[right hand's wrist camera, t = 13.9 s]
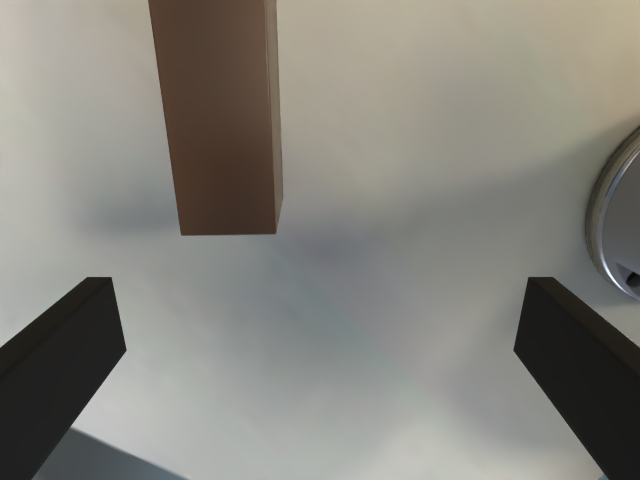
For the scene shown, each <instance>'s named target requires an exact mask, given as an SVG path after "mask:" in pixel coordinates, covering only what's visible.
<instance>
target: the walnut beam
mask: <svg viewBox="0 0 640 480" xmlns="http://www.w3.org/2000/svg"><path fill="white" fill-rule="evenodd" d="M148 2H149V9H150V16H151V23H152V30H153V37H154V45H155V52H156V59H157V66H158V73H159V80H160V88H161V95H162V102H163V109H164V116H165V123H166V131H167V138H168V145H169V152H170V159H171V166H172V173H173V181H174V188H175V195H176V202H177V209H178V216H179V224H180V231H181V235H182V236H199V235H275V234H276V232H277V227H278V222H279V217H280V211H281V206H282V201H283V180H282V152H281V124H280V96H279V68H278V40H277V12H276V0H148Z"/></svg>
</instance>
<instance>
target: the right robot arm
mask: <svg viewBox="0 0 640 480" xmlns="http://www.w3.org/2000/svg"><path fill="white" fill-rule="evenodd" d="M586 242H587V246H588V251H589V253H590V256H591V259H592V261H593V263H594V265H595V266H596V268H597V269H598V271H599V272H600V273H601V274H602V275H603V276H604V277H605V278H606V279H607V280H608V281H609V282H610V283H612V284H613V285H615V286H616V287H618V288H619V289H621V290H622V291H624V292H625V293H627V294H628V295H630V296H631V297H633V298H635V299H637V300H639V301H640V128H639V129H638V130H637V131H636V132H635V133H633V134H632V135H631V136H630V137H629V138H628V139H627V140H626V141H625V142H624V143H623V145H622V146H621V147H620V148H619V149H618V150H617V152H616V153H615V154H614V156H613V157H612V158H611V160H610V161H609V162H608V164H607V165H606V167H605V169H604V170H603V172H602V174H601V176H600V178H599V179H598V181H597V183H596V186H595V188H594V191H593V193H592V196H591V199H590V202H589V206H588V211H587V216H586ZM126 351H127V350H126V345H125V340H124V335H123V331H122V326H121V321H120V316H119V311H118V306H117V301H116V297H115V292H114V287H113V282H112V277H87V278H86V279H84V280H83V281H82V282H81V283H79V284H78V285H77V286H76V287H74V288H73V289H72V290H71V291H70V292H68V293H67V294H66V295H65V296H63V297H62V298H61V299H60V300H58V301H57V302H56V303H55V304H54V305H52V306H51V307H50V308H49V309H47V310H46V311H45V312H44V313H42V314H41V315H40V316H39V317H38V318H36V319H35V320H34V321H33V322H31V323H30V324H29V325H28V326H26V327H25V328H24V329H23V330H22V331H20V332H19V333H18V334H17V335H15V336H14V337H13V338H12V339H10V340H9V341H8V342H7V343H6V344H4V345H3V346H2V347H1V348H0V480H31V479H32V478H33V477H34V475H35V474H36V473H37V471H38V470H39V469H40V467H41V466H42V465H43V463H44V462H45V460H46V459H47V458H48V456H49V455H50V454H51V452H52V451H53V450H54V448H55V447H56V445H57V444H58V443H59V441H60V440H61V439H62V437H63V436H64V435H65V433H66V432H67V431H68V429H69V428H70V427H71V425H72V424H73V422H74V421H75V420H76V418H77V417H78V416H79V414H80V413H81V412H82V410H83V409H84V408H85V406H86V405H87V403H88V402H89V401H90V399H91V398H92V397H93V395H94V394H95V393H96V391H97V390H98V389H99V387H100V386H101V384H102V383H103V382H104V380H105V379H106V378H107V376H108V375H109V374H110V372H111V371H112V370H113V368H114V367H115V365H116V364H117V363H118V361H119V360H120V359H121V357H122V356H123V355H124V353H125V352H126ZM513 351H514V352H515V353H516V355H517V356H518V357H519V359H520V360H521V361H522V363H523V364H524V365H525V367H526V368H527V370H528V371H529V372H530V374H531V375H532V376H533V378H534V379H535V380H536V382H537V383H538V384H539V386H540V387H541V389H542V390H543V391H544V393H545V394H546V395H547V397H548V398H549V399H550V401H551V402H552V403H553V405H554V406H555V408H556V409H557V410H558V412H559V413H560V414H561V416H562V417H563V418H564V420H565V421H566V422H567V424H568V425H569V427H570V428H571V429H572V431H573V432H574V433H575V435H576V436H577V437H578V439H579V440H580V441H581V443H582V444H583V446H584V447H585V448H586V450H587V451H588V452H589V454H590V455H591V456H592V458H593V459H594V460H595V462H596V463H597V465H598V466H599V467H600V469H601V470H602V471H603V473H604V474H603V475H602V476H601V477H600V478H599V479H598V480H640V348H639V347H638V346H637V345H636V344H634V343H633V342H632V341H631V340H630V339H628V338H627V337H626V336H625V335H623V334H622V333H621V332H620V331H618V330H617V329H616V328H615V327H614V326H612V325H611V324H610V323H609V322H607V321H606V320H605V319H604V318H602V317H601V316H600V315H599V314H598V313H596V312H595V311H594V310H593V309H591V308H590V307H589V306H588V305H586V304H585V303H584V302H583V301H582V300H580V299H579V298H578V297H577V296H575V295H574V294H573V293H572V292H570V291H569V290H568V289H567V288H566V287H564V286H563V285H562V284H561V283H559V282H558V281H557V280H556V279H554V278H553V277H528V282H527V287H526V292H525V297H524V301H523V306H522V311H521V316H520V321H519V326H518V331H517V335H516V340H515V345H514V350H513Z"/></svg>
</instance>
